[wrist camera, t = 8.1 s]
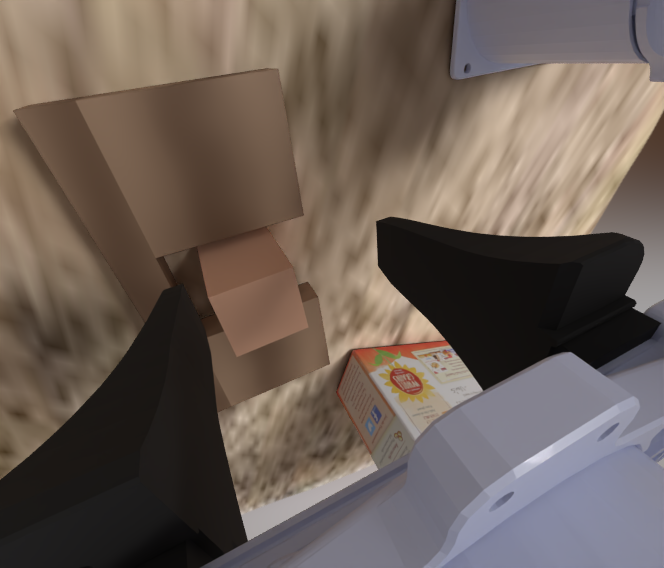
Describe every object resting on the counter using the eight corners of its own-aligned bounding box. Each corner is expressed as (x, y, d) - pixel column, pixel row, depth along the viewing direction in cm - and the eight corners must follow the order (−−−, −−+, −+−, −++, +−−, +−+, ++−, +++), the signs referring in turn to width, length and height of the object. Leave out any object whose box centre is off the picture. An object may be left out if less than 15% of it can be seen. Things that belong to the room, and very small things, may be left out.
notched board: (266, 68, 16) (278, 68, 14) (320, 347, 28) (329, 363, 26) (29, 105, 13) (12, 110, 12) (201, 396, 25) (204, 418, 24)
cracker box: (332, 393, 32) (505, 716, 16) (351, 346, 29) (578, 675, 14) (435, 377, 39) (627, 593, 23) (457, 337, 36) (691, 550, 20)
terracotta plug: (262, 220, 20) (293, 267, 15) (277, 273, 22) (308, 327, 18) (195, 241, 19) (208, 297, 14) (219, 294, 21) (236, 357, 17)
